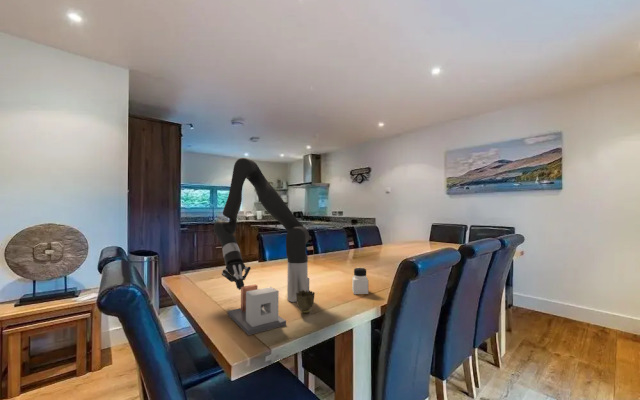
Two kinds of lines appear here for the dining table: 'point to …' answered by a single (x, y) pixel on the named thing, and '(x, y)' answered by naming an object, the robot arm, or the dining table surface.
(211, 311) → the dining table surface
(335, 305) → the dining table surface
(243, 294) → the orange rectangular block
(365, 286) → the medicine bottle
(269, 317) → the peg hole fixture
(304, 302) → the cup
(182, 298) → the dining table surface
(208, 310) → the dining table surface
